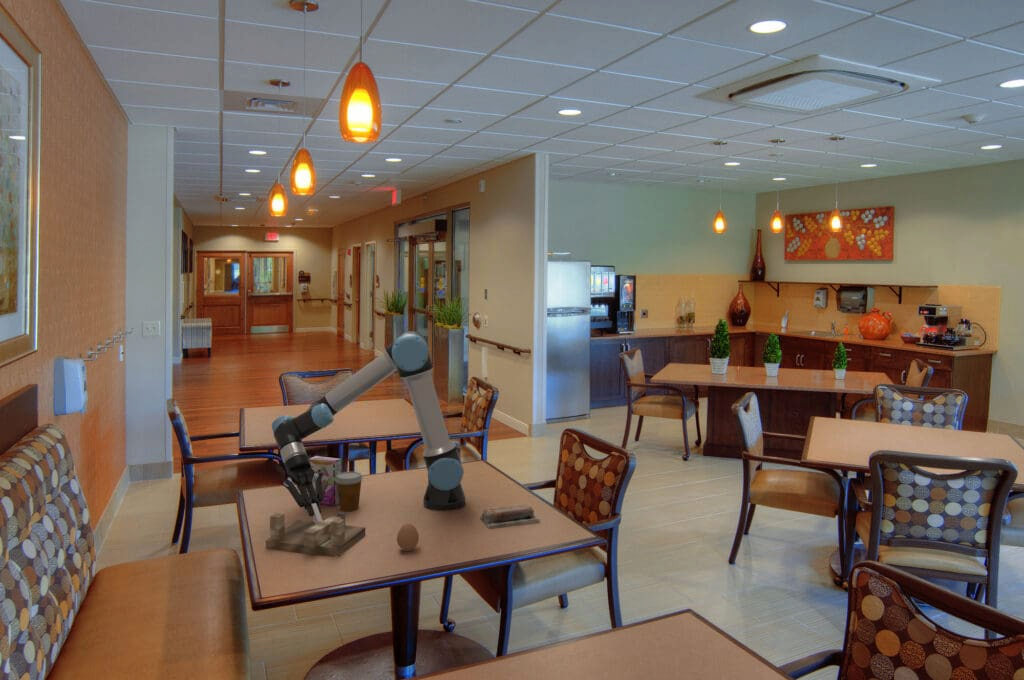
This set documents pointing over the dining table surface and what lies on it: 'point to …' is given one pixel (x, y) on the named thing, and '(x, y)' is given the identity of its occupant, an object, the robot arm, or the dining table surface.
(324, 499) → the candy bar box
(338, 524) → the wooden block assembly
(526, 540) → the dining table surface
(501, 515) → the stapler
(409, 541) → the egg
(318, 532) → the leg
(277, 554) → the dining table surface
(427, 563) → the dining table surface
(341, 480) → the disposable coffee cup
